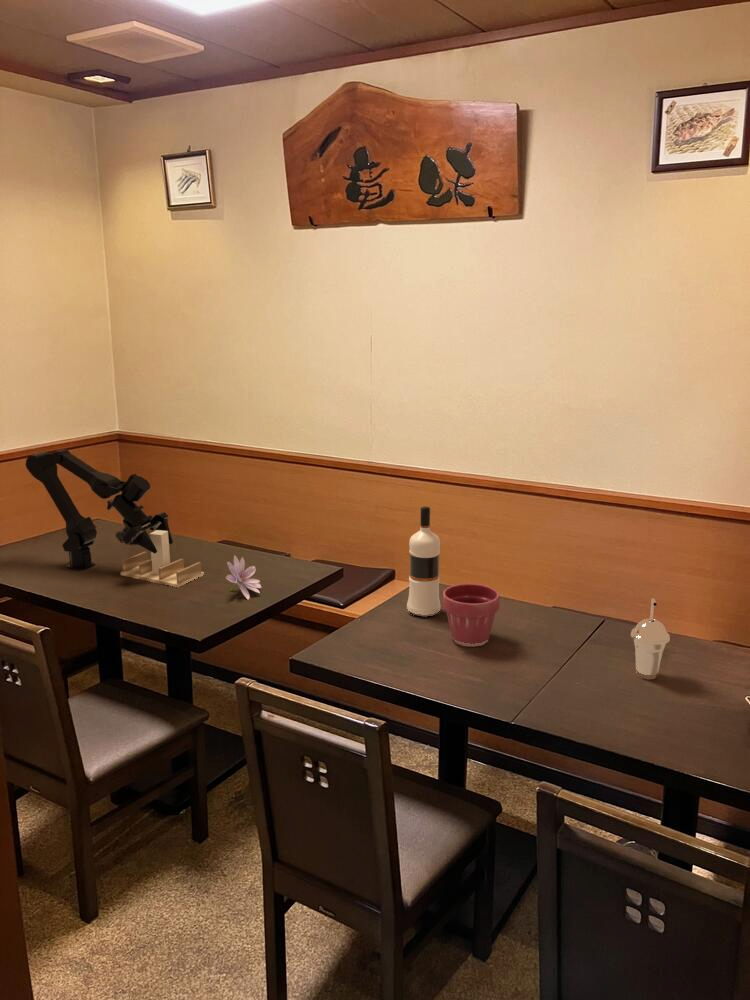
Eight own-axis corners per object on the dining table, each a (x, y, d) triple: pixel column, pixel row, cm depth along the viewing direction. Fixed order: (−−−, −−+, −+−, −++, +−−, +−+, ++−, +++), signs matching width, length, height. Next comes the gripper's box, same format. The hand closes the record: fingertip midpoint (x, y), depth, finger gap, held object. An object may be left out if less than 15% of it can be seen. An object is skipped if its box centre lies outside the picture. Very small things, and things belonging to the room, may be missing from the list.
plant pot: (432, 633, 208) (433, 586, 204) (481, 625, 212) (482, 579, 209) (457, 656, 195) (458, 607, 191) (508, 647, 199) (510, 599, 196)
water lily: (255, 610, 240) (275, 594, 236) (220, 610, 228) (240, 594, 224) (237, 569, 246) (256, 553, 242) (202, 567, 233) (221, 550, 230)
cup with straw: (672, 674, 185) (680, 593, 180) (655, 689, 179) (663, 605, 173) (636, 663, 191) (643, 584, 185) (619, 677, 184) (626, 595, 179)
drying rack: (120, 575, 250) (119, 561, 249) (148, 563, 260) (147, 550, 259) (177, 587, 239) (176, 573, 238) (203, 575, 249) (203, 561, 248)
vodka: (412, 620, 216) (413, 512, 208) (402, 607, 224) (403, 503, 217) (445, 616, 218) (447, 510, 210) (434, 604, 227) (436, 501, 219)
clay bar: (152, 573, 248) (149, 533, 244) (159, 569, 252) (156, 530, 248) (164, 575, 247) (161, 534, 243) (170, 570, 251) (167, 530, 247)
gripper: (132, 518, 259) (165, 554, 258) (97, 535, 241) (132, 573, 241) (152, 496, 254) (185, 533, 254) (117, 512, 237) (153, 551, 237)
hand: (164, 547), depth 247 cm, fingers open, 9 cm apart
